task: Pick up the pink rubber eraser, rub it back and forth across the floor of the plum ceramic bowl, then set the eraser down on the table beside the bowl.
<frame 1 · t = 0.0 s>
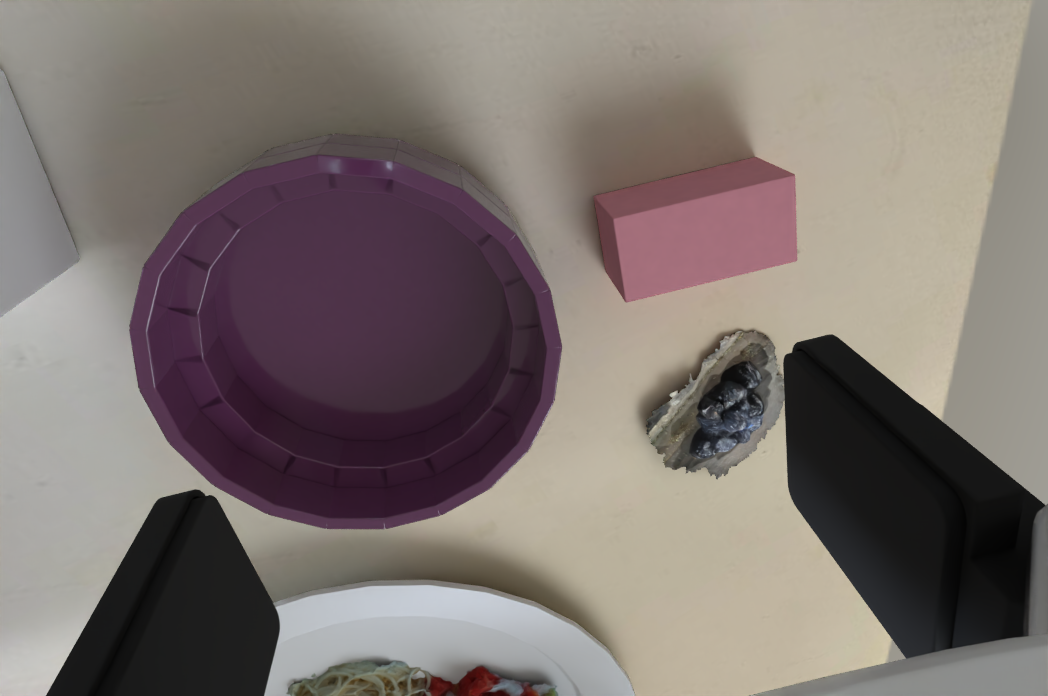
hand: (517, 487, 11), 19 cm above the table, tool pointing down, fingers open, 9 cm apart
bowl: (367, 314, 29), on the table
geode: (715, 398, 34), on the table
eraser: (678, 216, 29), on the table
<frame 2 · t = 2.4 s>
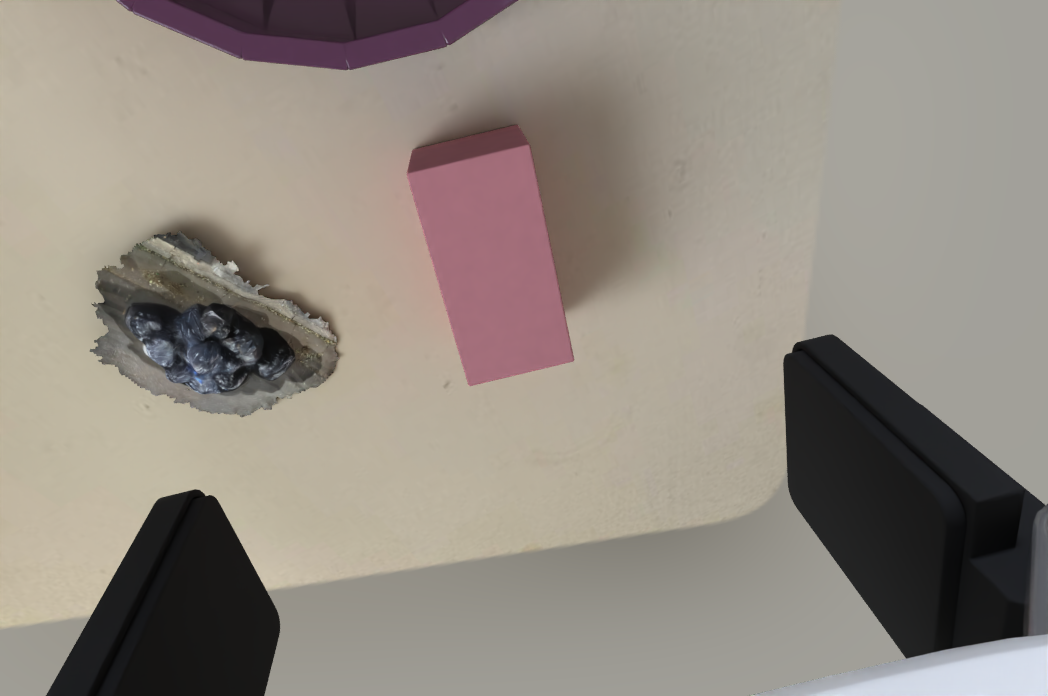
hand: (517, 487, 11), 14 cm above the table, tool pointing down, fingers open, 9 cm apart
geode: (227, 326, 24), on the table
eraser: (490, 239, 23), on the table
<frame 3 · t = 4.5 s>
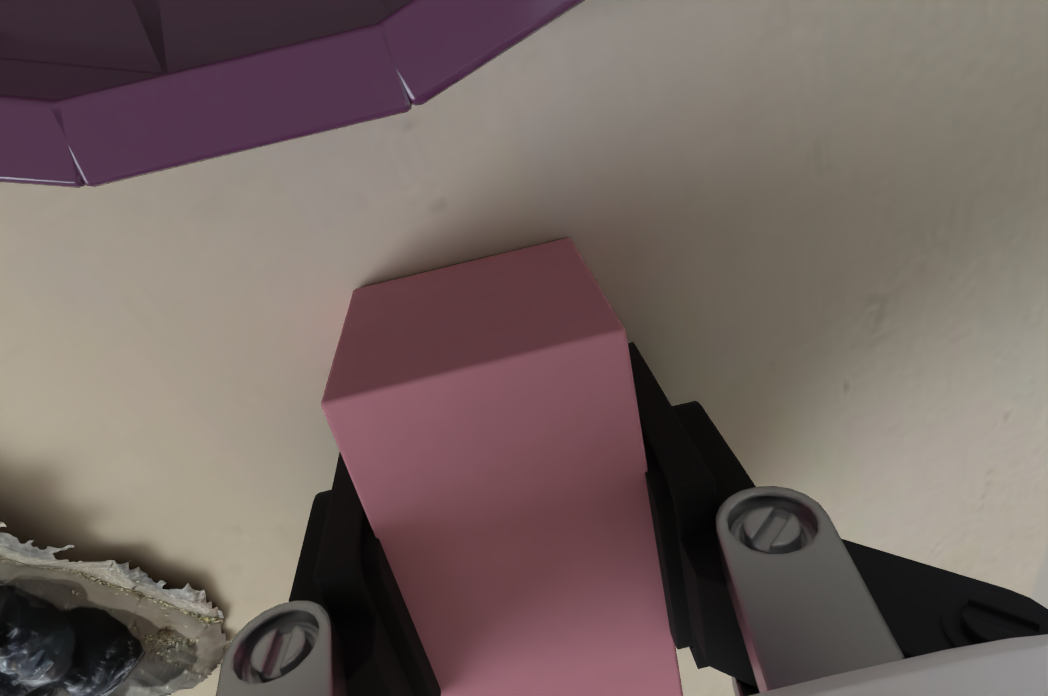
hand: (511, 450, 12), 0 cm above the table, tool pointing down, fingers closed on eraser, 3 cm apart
geode: (11, 599, 13), on the table
eraser: (509, 441, 12), on the table, touching gripper
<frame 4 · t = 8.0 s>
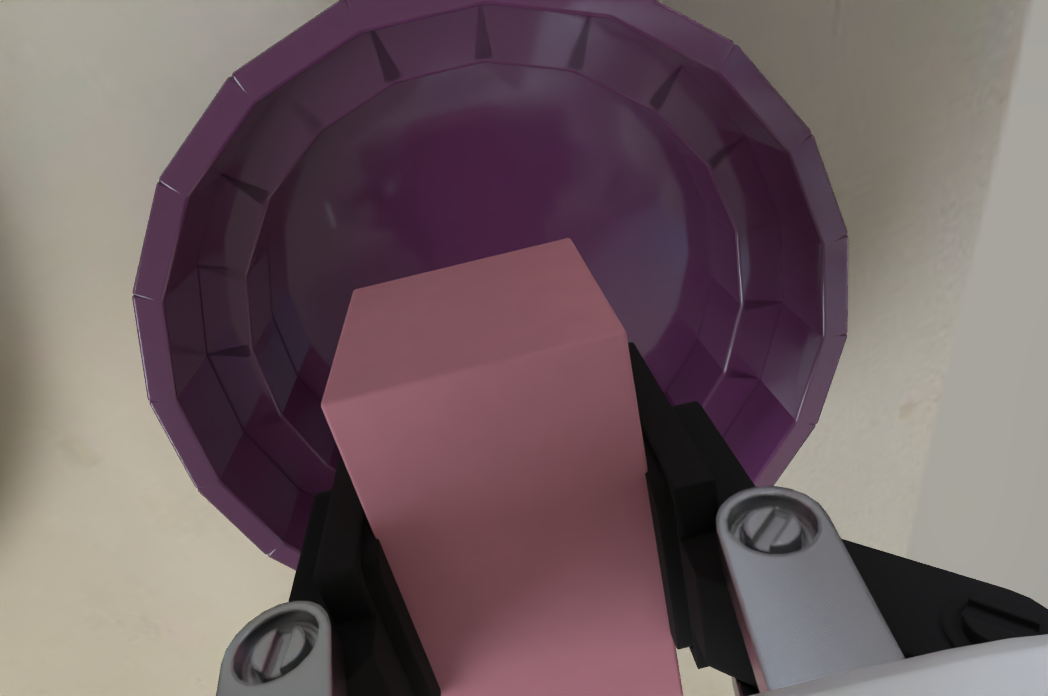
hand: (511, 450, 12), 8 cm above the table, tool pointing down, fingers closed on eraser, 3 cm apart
bowl: (495, 285, 19), on the table
eraser: (509, 442, 12), point 8 cm above the table, touching gripper
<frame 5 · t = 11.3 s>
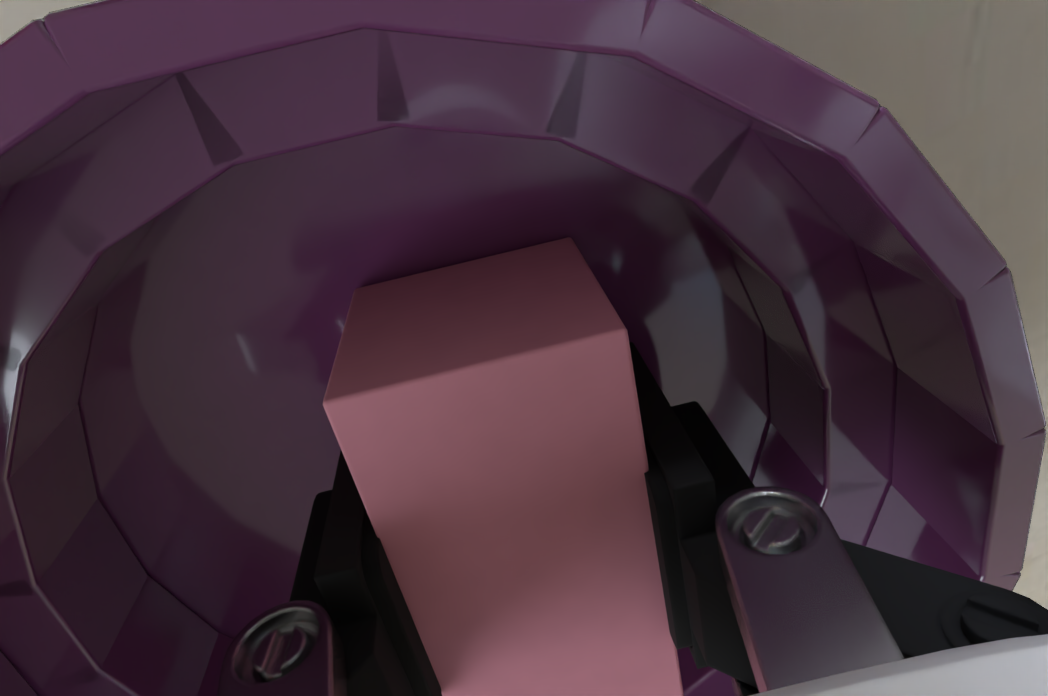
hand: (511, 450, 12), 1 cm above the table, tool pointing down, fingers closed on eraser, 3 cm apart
bowl: (446, 431, 13), on the table
eraser: (510, 441, 12), point 1 cm above the table, touching gripper
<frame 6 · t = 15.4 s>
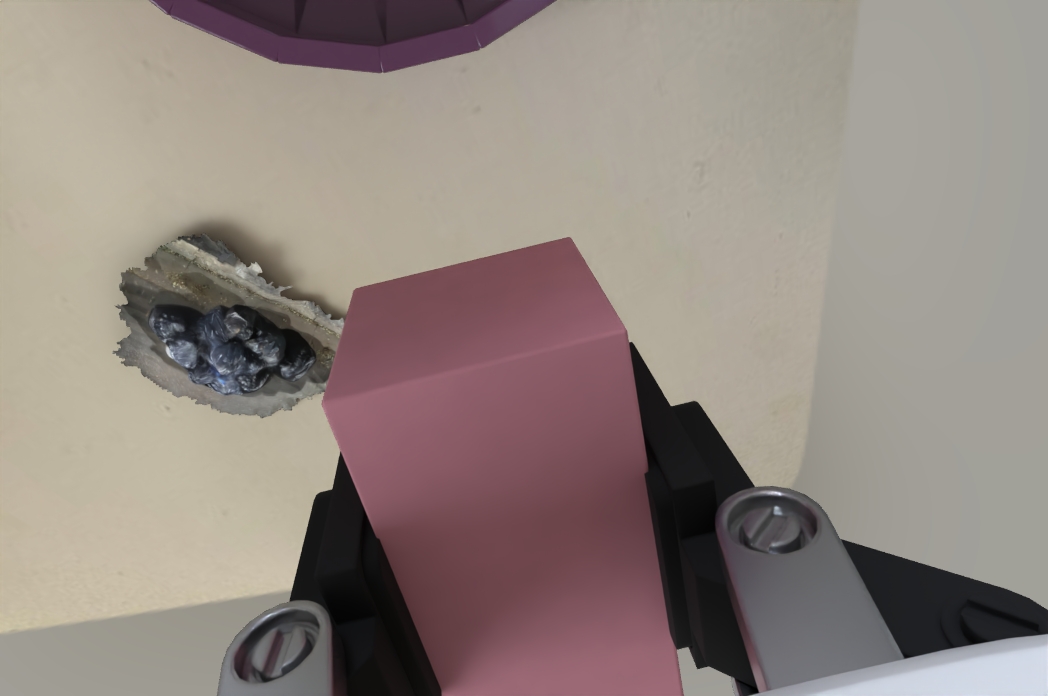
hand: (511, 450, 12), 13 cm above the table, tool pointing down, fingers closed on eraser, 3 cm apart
geode: (248, 327, 24), on the table
eraser: (510, 441, 12), point 13 cm above the table, touching gripper
when the fingers open (0 cm above the table, at t = 18.5 s): eraser stays where it is, on the table.
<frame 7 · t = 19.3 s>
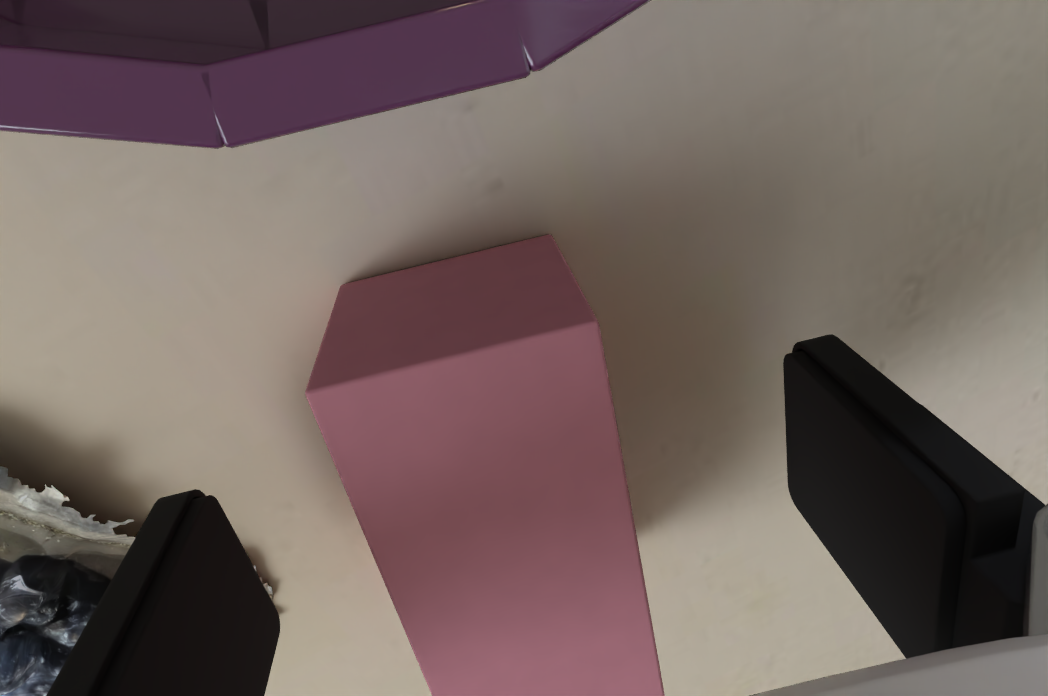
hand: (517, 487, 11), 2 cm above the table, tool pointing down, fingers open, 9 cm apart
geode: (67, 575, 13), on the table
eraser: (494, 434, 13), on the table
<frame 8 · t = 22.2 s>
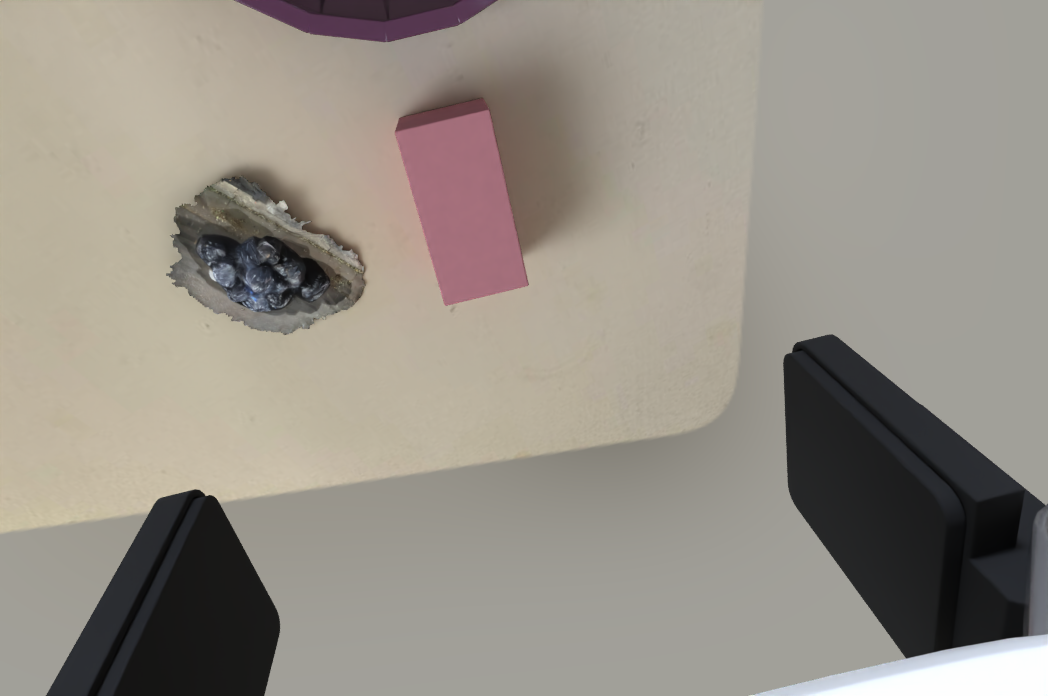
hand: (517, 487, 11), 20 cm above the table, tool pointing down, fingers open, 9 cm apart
geode: (275, 257, 30), on the table
eraser: (462, 191, 29), on the table
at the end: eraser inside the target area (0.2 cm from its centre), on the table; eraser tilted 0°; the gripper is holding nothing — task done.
